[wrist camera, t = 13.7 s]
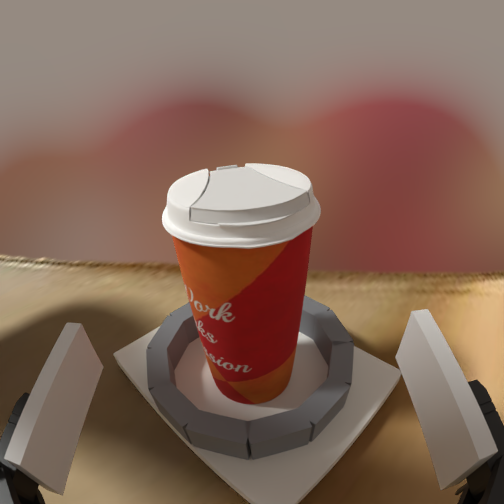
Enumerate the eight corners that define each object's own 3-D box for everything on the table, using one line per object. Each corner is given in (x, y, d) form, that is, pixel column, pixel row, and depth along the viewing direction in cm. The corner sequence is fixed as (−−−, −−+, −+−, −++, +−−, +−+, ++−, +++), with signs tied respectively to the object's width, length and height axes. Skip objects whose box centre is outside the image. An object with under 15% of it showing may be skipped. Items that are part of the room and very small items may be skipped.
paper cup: (192, 346, 25) (158, 172, 17) (285, 327, 26) (286, 155, 19) (210, 430, 18) (157, 231, 11) (323, 401, 20) (355, 202, 12)
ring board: (118, 365, 25) (102, 332, 23) (237, 292, 33) (234, 259, 31) (276, 523, 13) (277, 511, 11) (397, 382, 22) (412, 349, 20)
